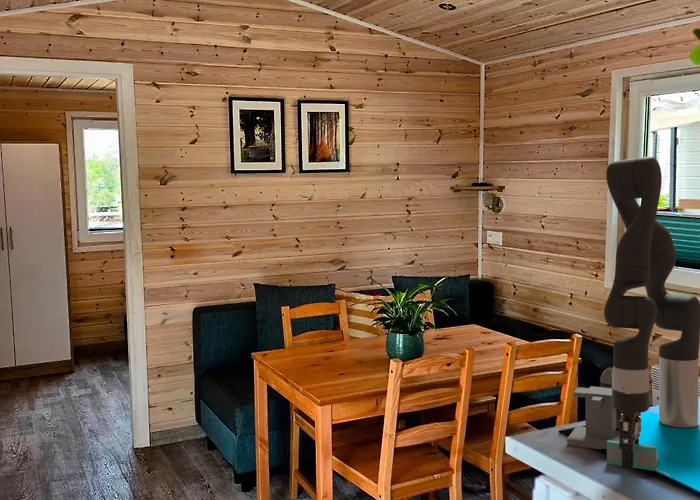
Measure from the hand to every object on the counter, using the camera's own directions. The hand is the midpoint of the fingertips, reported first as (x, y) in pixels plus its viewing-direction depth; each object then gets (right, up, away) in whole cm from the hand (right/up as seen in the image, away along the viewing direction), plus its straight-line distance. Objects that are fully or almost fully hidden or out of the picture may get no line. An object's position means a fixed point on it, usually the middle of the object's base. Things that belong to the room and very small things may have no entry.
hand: (630, 460), depth 155 cm
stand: (-1, 0, +16) cm, 16 cm away
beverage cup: (+6, 0, +26) cm, 27 cm away
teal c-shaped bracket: (+2, -1, +3) cm, 3 cm away
